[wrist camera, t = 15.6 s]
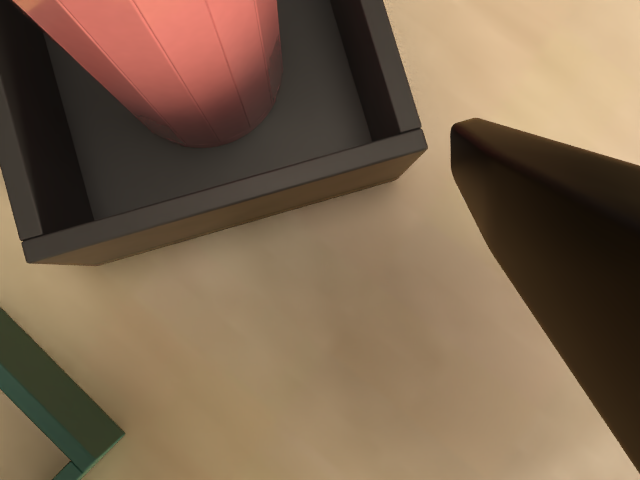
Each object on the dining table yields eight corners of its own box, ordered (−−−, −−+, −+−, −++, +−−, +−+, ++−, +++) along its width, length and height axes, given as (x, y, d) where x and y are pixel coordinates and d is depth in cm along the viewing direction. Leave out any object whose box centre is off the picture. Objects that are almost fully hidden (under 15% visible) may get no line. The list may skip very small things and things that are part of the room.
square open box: (397, 179, 21) (429, 148, 16) (95, 266, 21) (25, 264, 16) (310, -106, 22) (313, -225, 17) (15, -30, 21) (-79, -129, 16)
